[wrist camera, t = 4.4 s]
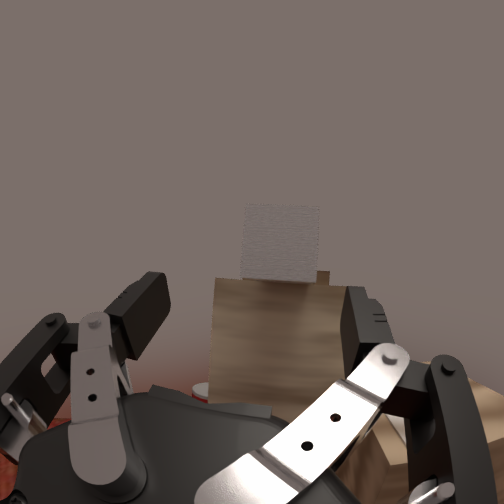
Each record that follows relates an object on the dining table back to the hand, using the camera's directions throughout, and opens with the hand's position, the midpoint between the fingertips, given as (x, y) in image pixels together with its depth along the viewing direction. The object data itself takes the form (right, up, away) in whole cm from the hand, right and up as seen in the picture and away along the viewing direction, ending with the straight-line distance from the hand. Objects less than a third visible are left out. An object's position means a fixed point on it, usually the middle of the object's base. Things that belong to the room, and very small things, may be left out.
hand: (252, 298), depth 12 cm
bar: (+3, -1, +14) cm, 15 cm away
